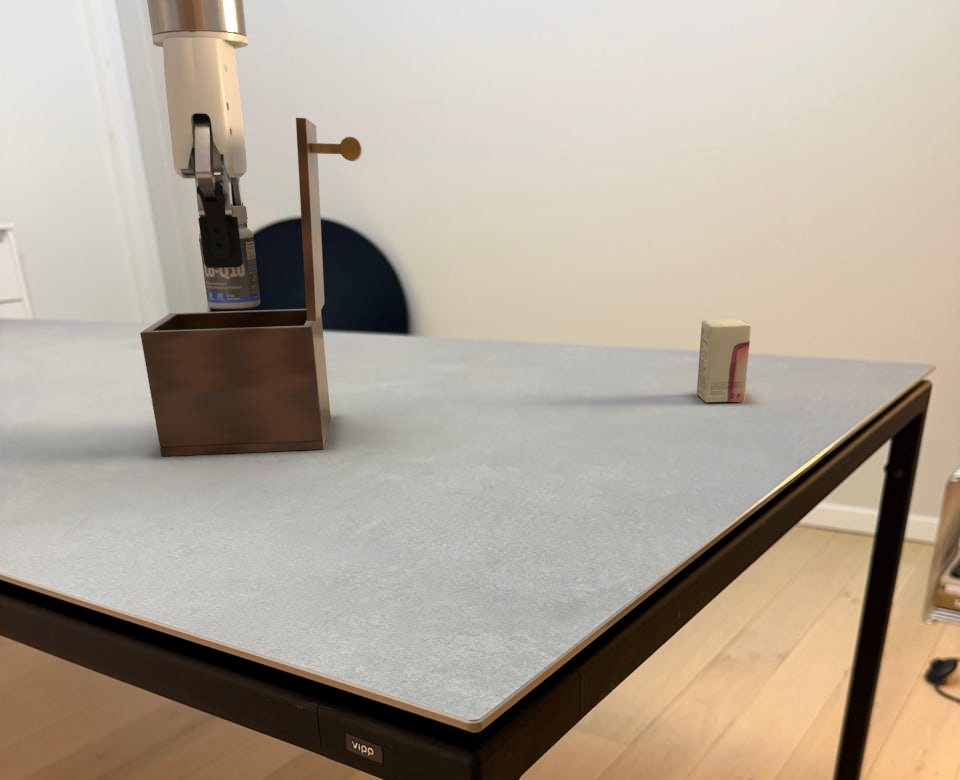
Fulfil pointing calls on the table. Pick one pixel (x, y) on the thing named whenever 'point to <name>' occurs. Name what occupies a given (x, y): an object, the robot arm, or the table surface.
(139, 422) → the table surface
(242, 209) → the pill bottle
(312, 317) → the lid
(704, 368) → the small box
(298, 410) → the chest
